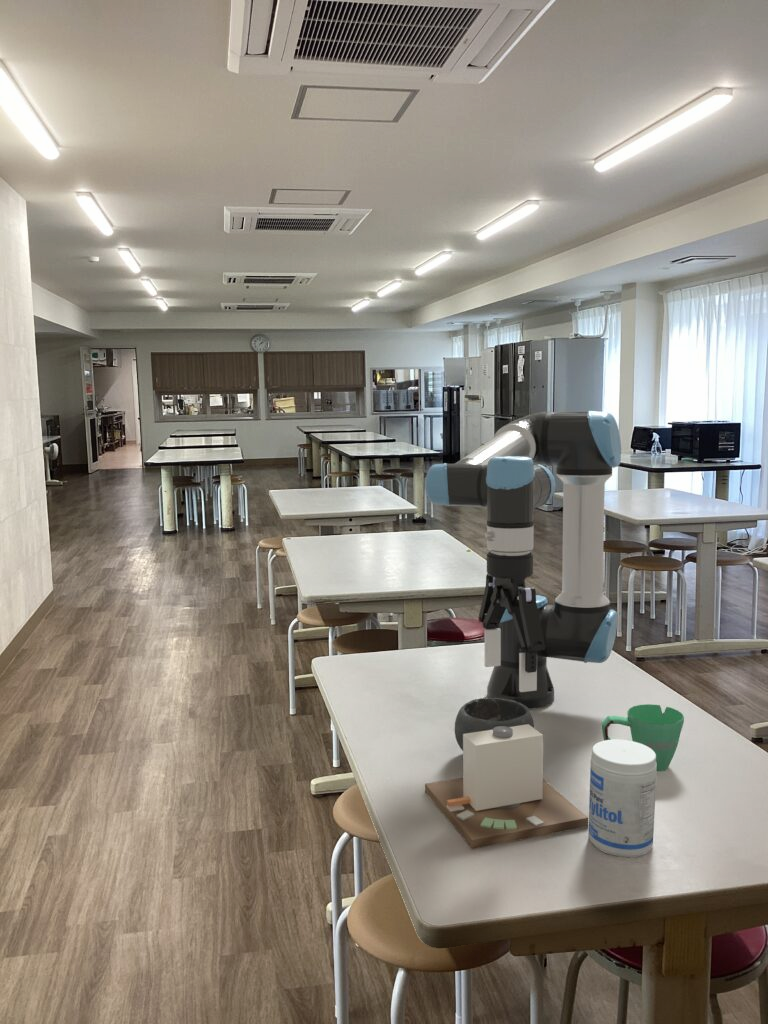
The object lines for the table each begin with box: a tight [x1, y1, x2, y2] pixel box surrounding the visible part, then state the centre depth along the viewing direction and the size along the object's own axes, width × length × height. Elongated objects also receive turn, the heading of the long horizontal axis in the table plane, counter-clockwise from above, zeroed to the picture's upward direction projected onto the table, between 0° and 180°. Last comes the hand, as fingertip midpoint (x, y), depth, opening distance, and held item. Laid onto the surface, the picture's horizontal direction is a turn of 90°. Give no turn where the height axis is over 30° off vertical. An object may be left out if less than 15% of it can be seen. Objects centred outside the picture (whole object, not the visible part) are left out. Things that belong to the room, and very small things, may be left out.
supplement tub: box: [587, 738, 657, 858], centre depth 125 cm, size 10×10×15 cm
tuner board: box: [424, 776, 589, 850], centre depth 138 cm, size 20×20×2 cm
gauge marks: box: [447, 805, 544, 830], centre depth 132 cm, size 12×10×1 cm
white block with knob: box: [447, 724, 544, 811], centre depth 136 cm, size 16×5×12 cm, turn 108°
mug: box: [601, 703, 685, 773], centre depth 152 cm, size 15×10×10 cm
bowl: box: [454, 697, 535, 752], centre depth 156 cm, size 15×15×10 cm
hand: (509, 677), depth 138 cm, fingers open, 13 cm apart
